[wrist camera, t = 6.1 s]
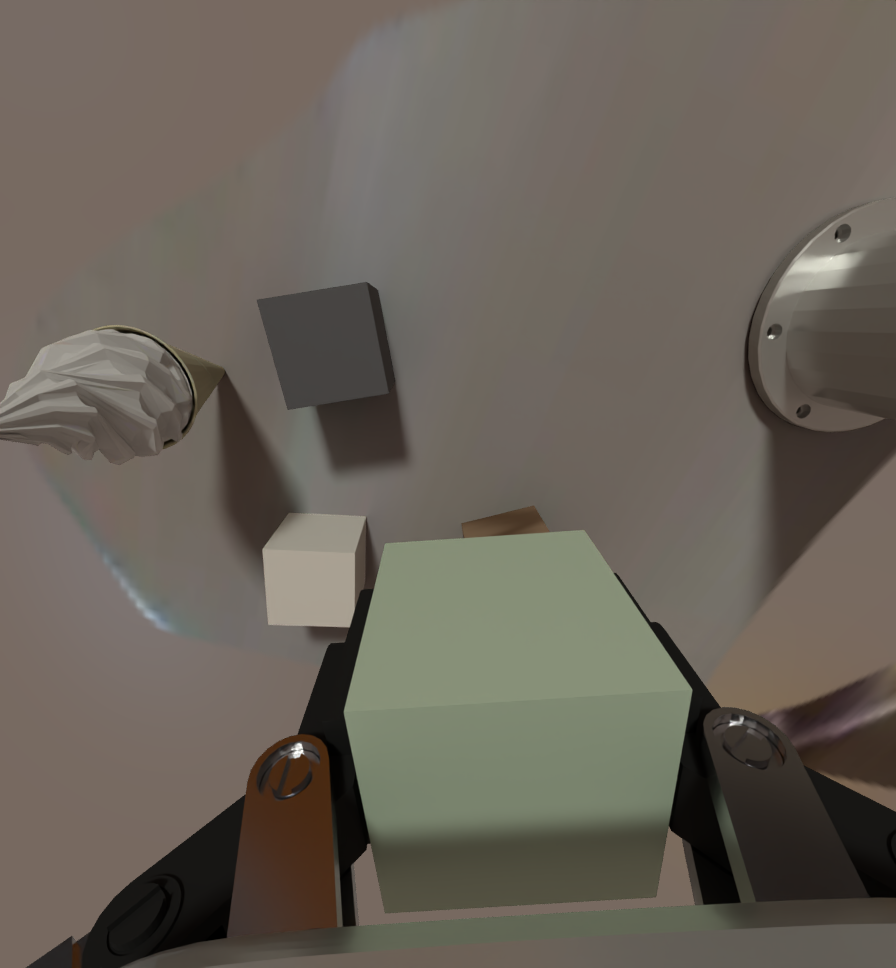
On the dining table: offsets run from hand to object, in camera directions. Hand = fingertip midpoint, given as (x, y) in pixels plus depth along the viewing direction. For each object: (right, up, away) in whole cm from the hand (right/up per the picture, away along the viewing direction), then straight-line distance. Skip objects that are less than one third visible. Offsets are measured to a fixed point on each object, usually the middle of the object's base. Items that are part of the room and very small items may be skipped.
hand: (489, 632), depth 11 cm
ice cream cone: (-14, +10, +14) cm, 23 cm away
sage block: (0, 0, +1) cm, 1 cm away
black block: (-7, +12, +14) cm, 20 cm away
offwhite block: (-9, -1, +18) cm, 20 cm away
